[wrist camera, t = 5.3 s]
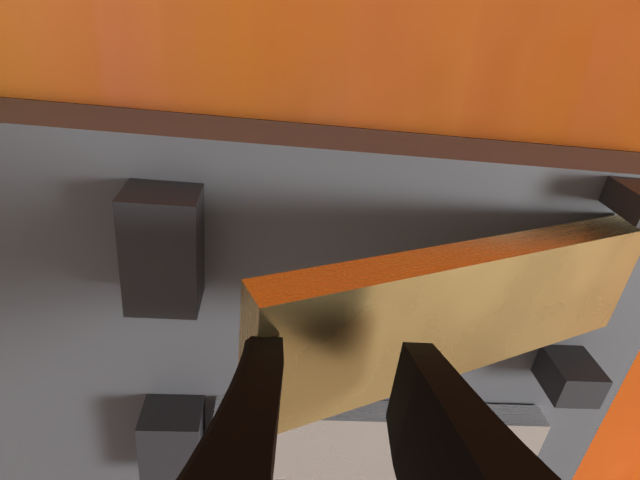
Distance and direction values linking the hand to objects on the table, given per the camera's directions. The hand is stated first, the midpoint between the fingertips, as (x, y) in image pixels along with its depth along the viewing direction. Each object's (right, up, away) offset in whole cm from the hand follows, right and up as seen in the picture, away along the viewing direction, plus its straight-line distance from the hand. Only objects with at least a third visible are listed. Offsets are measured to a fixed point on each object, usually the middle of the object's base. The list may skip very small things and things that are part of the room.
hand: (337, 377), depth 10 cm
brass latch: (+3, +1, +3) cm, 5 cm away
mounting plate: (-1, 0, +9) cm, 9 cm away
